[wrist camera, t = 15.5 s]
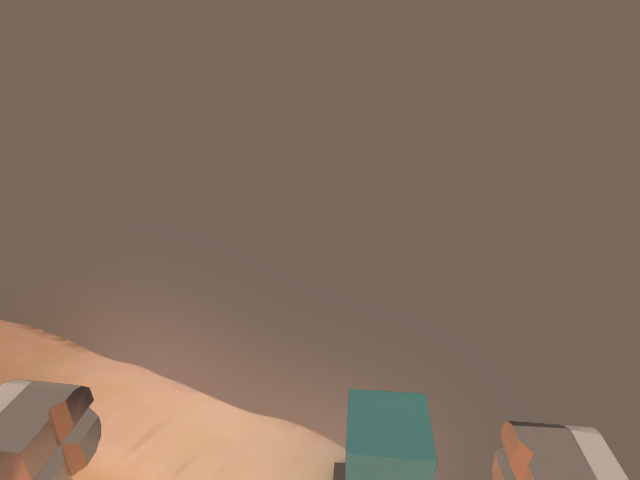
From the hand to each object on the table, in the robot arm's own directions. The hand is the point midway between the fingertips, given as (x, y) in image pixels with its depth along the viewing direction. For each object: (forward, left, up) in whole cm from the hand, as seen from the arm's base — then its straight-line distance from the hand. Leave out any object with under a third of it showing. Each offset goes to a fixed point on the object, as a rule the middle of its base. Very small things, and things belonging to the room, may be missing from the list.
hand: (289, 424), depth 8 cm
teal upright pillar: (+4, +15, -26) cm, 30 cm away
